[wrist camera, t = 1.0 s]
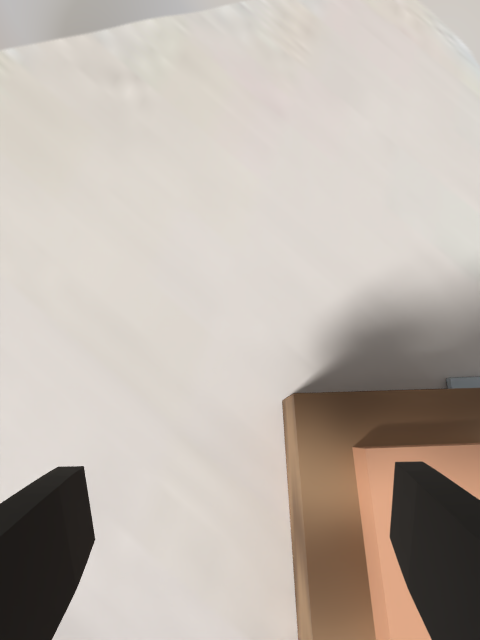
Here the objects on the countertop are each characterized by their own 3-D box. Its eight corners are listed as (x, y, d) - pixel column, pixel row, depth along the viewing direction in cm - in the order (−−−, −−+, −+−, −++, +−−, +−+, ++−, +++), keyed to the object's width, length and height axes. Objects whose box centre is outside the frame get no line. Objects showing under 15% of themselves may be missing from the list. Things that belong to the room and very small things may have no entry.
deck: (513, 697, 16) (598, 776, 13) (303, 709, 16) (324, 794, 12) (449, 395, 21) (498, 387, 17) (282, 400, 20) (293, 393, 17)
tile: (538, 691, 13) (577, 724, 12) (383, 700, 13) (403, 734, 12) (480, 442, 16) (506, 443, 15) (352, 447, 16) (365, 448, 14)
